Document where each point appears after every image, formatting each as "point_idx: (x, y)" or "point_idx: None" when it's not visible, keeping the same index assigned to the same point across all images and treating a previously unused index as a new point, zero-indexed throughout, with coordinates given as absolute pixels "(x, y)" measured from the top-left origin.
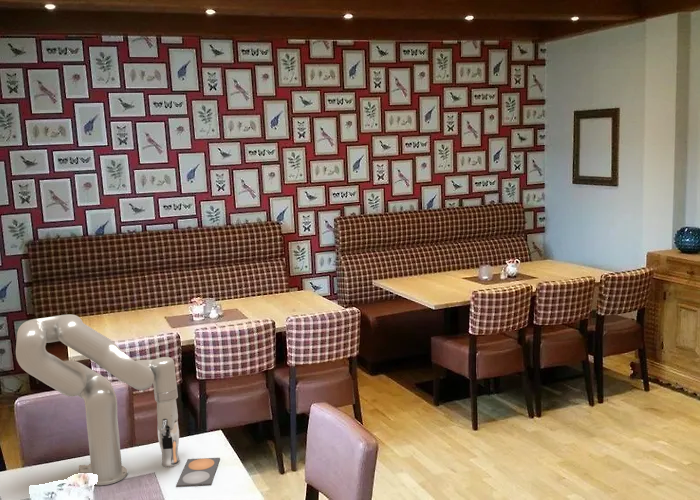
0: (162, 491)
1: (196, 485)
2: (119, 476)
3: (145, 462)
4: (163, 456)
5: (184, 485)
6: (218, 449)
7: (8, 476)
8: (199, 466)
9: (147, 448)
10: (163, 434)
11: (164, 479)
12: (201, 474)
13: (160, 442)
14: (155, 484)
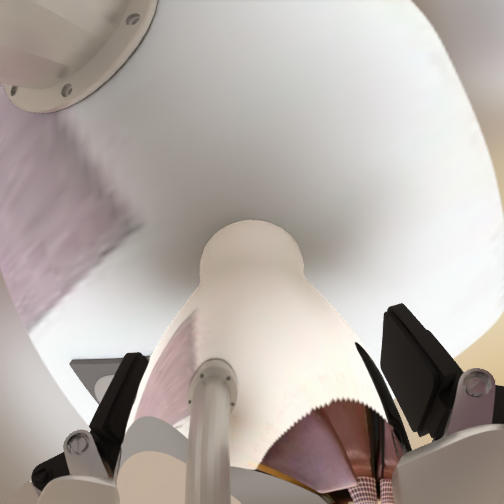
0: (35, 326)
1: None
2: (35, 100)
3: (250, 107)
4: (204, 274)
5: (84, 383)
6: (387, 386)
7: None
8: None
9: (421, 63)
10: (40, 481)
11: (93, 305)
12: None
13: (161, 337)
14: (52, 285)
